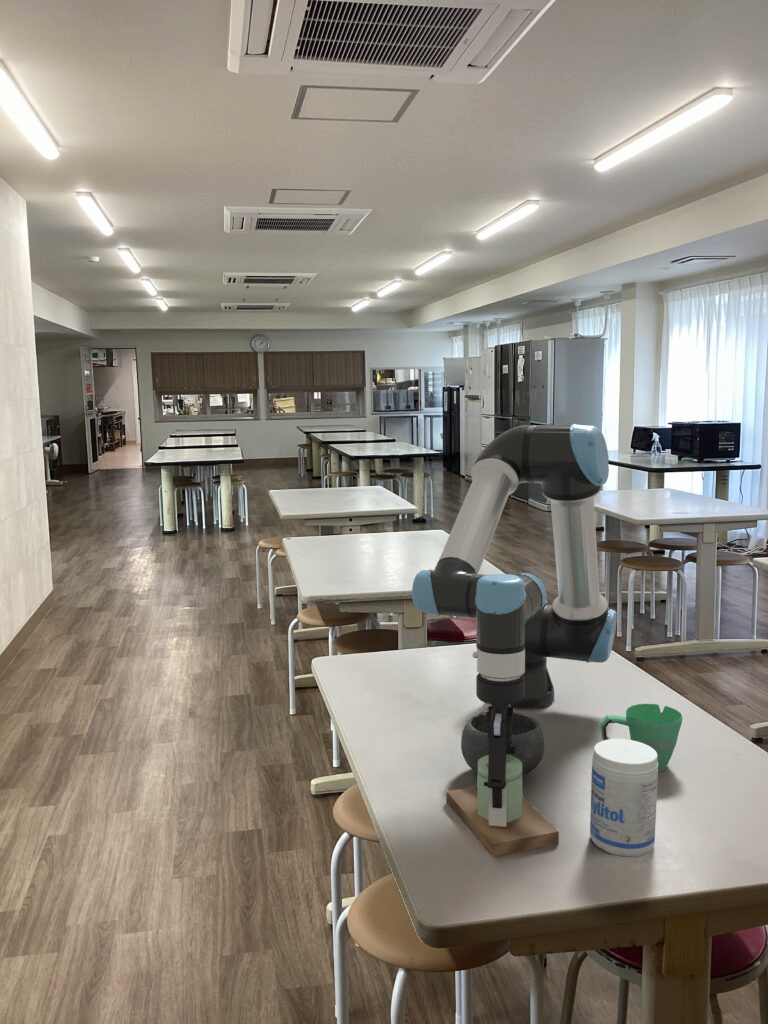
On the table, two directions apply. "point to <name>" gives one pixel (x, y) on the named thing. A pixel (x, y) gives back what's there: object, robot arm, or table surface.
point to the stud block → (500, 839)
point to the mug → (650, 728)
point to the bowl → (523, 737)
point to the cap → (512, 788)
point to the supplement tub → (623, 797)
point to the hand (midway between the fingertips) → (500, 808)
